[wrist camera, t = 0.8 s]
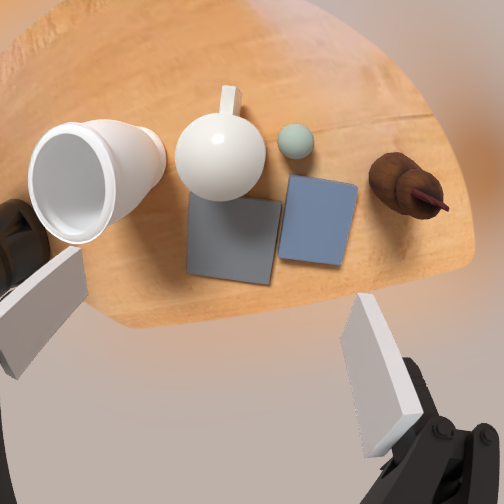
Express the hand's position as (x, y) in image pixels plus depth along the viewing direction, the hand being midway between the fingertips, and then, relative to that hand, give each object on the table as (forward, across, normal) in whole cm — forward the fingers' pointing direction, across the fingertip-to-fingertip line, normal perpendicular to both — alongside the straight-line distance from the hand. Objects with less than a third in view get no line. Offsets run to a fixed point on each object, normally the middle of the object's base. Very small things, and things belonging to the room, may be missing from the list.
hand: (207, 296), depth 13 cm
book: (+24, +8, -3) cm, 26 cm away
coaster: (+24, -2, -7) cm, 25 cm away
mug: (+24, -3, +5) cm, 25 cm away
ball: (+24, +4, +6) cm, 25 cm away
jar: (+24, -15, +2) cm, 28 cm away
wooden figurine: (+24, +16, +4) cm, 29 cm away
